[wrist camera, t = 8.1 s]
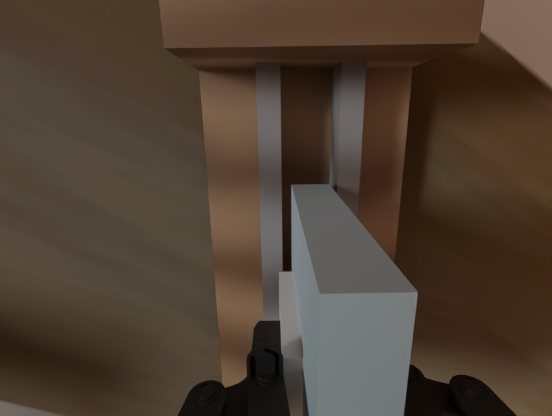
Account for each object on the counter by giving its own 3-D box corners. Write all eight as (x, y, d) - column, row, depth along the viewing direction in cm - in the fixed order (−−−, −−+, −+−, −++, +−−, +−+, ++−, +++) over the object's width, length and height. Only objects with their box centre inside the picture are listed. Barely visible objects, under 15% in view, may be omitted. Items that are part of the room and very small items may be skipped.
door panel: (291, 184, 17) (319, 294, 7) (347, 183, 17) (467, 291, 7) (292, 370, 20) (311, 643, 10) (339, 369, 20) (410, 641, 10)
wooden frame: (203, 39, 19) (157, -12, 12) (402, 35, 19) (486, -17, 12) (229, 406, 27) (212, 522, 19) (372, 404, 27) (411, 518, 19)
